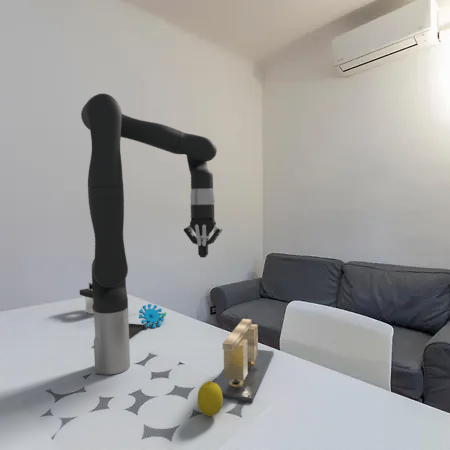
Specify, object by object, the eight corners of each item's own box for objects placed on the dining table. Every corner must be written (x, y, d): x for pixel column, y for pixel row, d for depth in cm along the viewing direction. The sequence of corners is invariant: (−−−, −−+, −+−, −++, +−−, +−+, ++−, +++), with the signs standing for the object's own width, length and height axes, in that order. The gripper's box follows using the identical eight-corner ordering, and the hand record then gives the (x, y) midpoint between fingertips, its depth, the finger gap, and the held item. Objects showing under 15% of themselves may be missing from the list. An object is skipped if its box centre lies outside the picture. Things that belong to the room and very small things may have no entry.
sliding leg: (240, 355, 106) (240, 316, 105) (257, 357, 104) (257, 317, 104) (218, 390, 87) (217, 342, 86) (238, 393, 85) (237, 345, 85)
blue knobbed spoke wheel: (142, 327, 133) (137, 303, 139) (137, 335, 136) (133, 311, 142) (170, 325, 138) (164, 302, 144) (164, 333, 142) (159, 310, 148)
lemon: (197, 409, 83) (197, 375, 83) (222, 408, 84) (221, 374, 83) (197, 424, 78) (197, 388, 77) (223, 423, 78) (223, 387, 78)
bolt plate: (238, 351, 115) (238, 313, 114) (273, 355, 111) (273, 316, 110) (208, 395, 89) (207, 347, 88) (252, 402, 86) (251, 353, 85)
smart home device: (93, 343, 120) (125, 322, 139) (94, 348, 120) (125, 327, 139) (116, 345, 117) (145, 324, 137) (116, 350, 118) (145, 328, 137)
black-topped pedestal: (55, 313, 157) (53, 282, 156) (112, 301, 174) (111, 273, 173) (80, 330, 136) (79, 295, 135) (143, 314, 154) (142, 283, 153)
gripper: (178, 203, 115) (179, 258, 117) (218, 203, 111) (218, 259, 112) (188, 203, 122) (189, 254, 124) (225, 202, 118) (226, 256, 120)
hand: (203, 257), depth 118 cm, fingers closed
